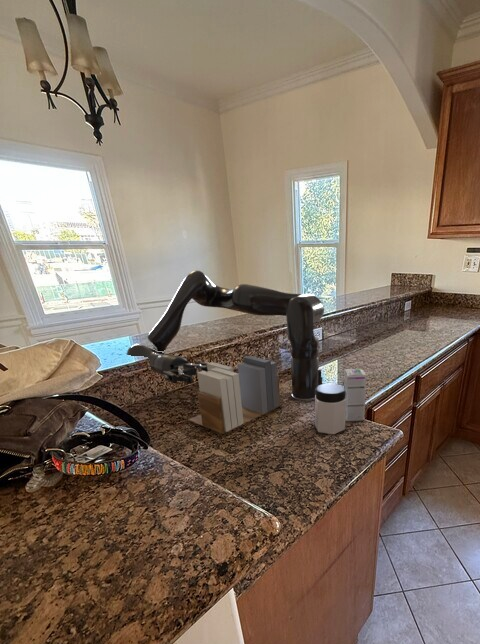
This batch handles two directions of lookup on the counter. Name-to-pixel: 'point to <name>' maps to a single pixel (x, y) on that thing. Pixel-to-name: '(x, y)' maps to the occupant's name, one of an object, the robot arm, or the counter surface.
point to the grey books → (258, 384)
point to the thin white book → (218, 366)
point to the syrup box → (355, 394)
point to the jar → (330, 408)
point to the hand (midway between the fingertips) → (203, 376)
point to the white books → (224, 394)
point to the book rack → (219, 412)
